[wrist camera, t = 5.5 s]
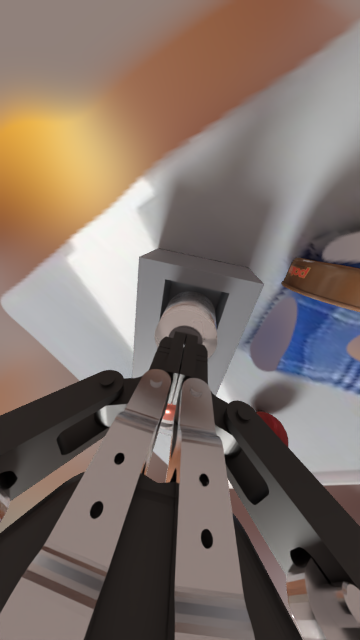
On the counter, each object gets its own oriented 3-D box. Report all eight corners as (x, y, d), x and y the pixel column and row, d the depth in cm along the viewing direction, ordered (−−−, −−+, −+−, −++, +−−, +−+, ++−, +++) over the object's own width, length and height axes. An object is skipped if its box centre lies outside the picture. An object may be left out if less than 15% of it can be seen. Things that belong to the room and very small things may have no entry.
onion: (239, 401, 29) (248, 457, 22) (277, 399, 27) (301, 459, 20) (242, 423, 31) (252, 479, 24) (278, 422, 30) (299, 482, 23)
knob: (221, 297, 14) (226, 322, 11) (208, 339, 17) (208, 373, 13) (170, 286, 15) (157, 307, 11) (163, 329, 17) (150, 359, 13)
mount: (248, 267, 19) (264, 284, 13) (197, 405, 30) (195, 442, 25) (158, 248, 19) (139, 257, 14) (142, 391, 31) (129, 425, 26)
